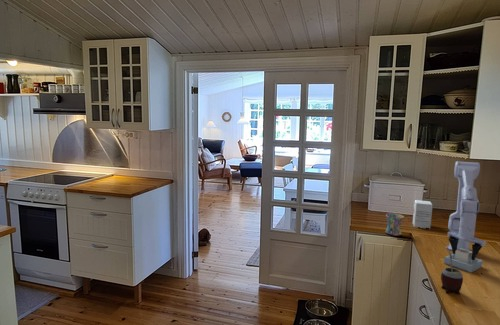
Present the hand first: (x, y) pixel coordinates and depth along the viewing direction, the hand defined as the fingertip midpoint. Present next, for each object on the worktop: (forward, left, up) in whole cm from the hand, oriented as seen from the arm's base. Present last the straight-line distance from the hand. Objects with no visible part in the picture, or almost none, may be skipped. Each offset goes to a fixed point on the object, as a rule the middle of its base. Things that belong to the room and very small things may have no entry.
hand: (463, 256), depth 152 cm
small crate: (0, 0, -3) cm, 3 cm away
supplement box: (-40, -40, -4) cm, 57 cm away
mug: (-10, -40, -4) cm, 42 cm away
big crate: (0, 0, -4) cm, 4 cm away
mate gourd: (+29, +8, -4) cm, 31 cm away
